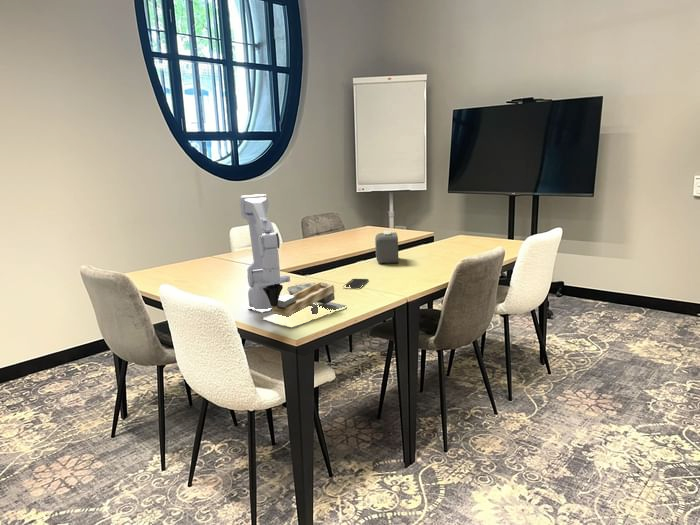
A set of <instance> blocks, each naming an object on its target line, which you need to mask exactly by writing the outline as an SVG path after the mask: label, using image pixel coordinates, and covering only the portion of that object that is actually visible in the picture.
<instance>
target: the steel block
mask: <svg viewBox="0 0 700 525" xmlns="http://www.w3.org/2000/svg"><path fill="white" fill-rule="evenodd" d="M294 303H296V299H295V296H292V295H291V294H287V293H286V294H283V295H281V296H279V299H278V305H277V308H280V309H285V308H287V307H289V306H290V305H292V304H294Z"/></svg>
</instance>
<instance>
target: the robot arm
mask: <svg viewBox="0 0 700 525" xmlns="http://www.w3.org/2000/svg"><path fill="white" fill-rule="evenodd" d="M268 198H269V197H268V195H267V194H266V193H261V194H251V195H250V194H249V195H248V194H247V195H246V194H245V195H243V194H242V195H240V197H239V206H240V214H241V217H242V219H245V220H246V221H247V223H248V229H249V230H248V231H249V236H250V244H251V252H252V259H253V262H252V263H251V264H249V266H248V268H247V269H246V270H247V282H248V286H249V289H248V292H247V293H248V294H247V296H248V306H250V307H254V308H255V309H268V308H272V306H274V307H275V306H277V305H278V299H279V297H280V294H281V292H282V290H283V288H284V286H283V285H282V284H283V283H289V282H290V283H291V276H290V275H282V276H281V269H280V257H279V249H280V245H281V244H280V241H281V240H280V236H279V233H278V231H276V230H275V229H274V227H273V224H272V221H271V220H270V219H269V218H267V213H268V209H269V199H268Z"/></svg>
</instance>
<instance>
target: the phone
mask: <svg viewBox="0 0 700 525" xmlns="http://www.w3.org/2000/svg"><path fill="white" fill-rule="evenodd" d="M367 281H368V282H369V279H368V278H352V279H351V280H349V281H348V282H347V283H346V284H344V285H343V287H344V286H345V285H346V287H349V285H350V287H351V288H360V287H361V286H362V285H364V284H365V283H366V282H367ZM368 282H367V283H368ZM367 283H366V284H367ZM366 284H365V285H366ZM365 285H364V286H365Z"/></svg>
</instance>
